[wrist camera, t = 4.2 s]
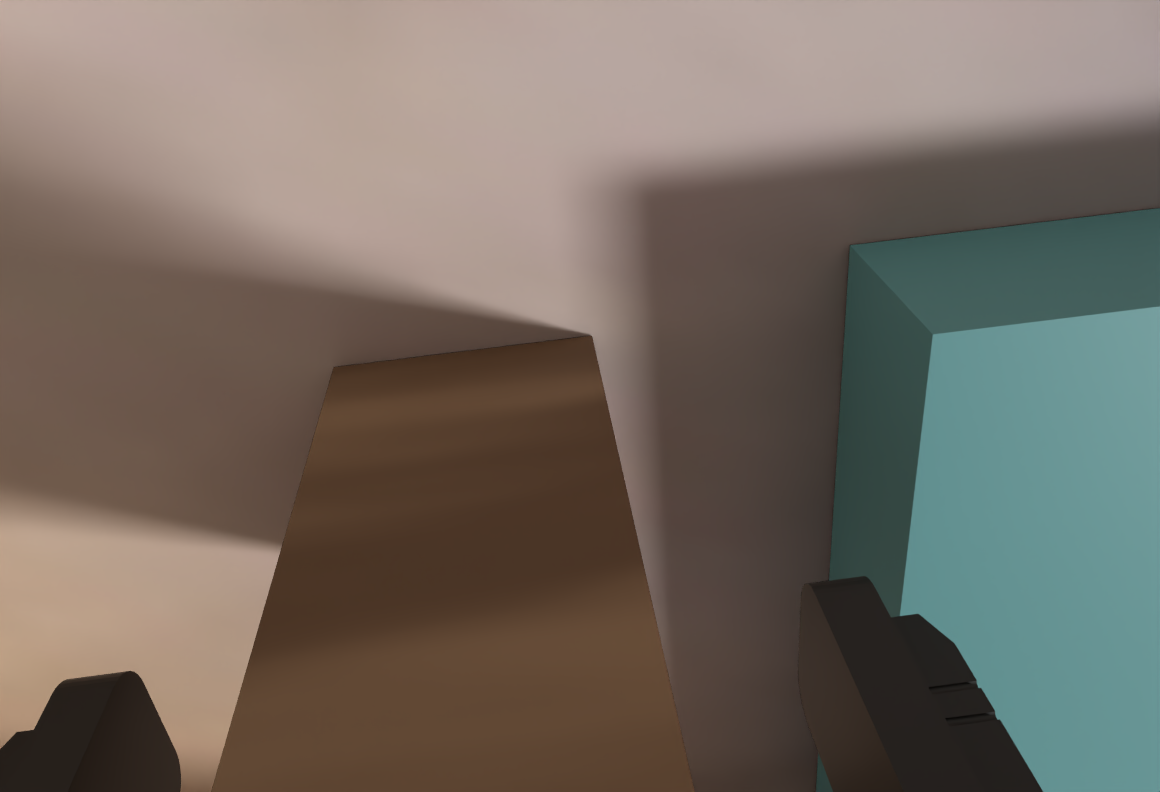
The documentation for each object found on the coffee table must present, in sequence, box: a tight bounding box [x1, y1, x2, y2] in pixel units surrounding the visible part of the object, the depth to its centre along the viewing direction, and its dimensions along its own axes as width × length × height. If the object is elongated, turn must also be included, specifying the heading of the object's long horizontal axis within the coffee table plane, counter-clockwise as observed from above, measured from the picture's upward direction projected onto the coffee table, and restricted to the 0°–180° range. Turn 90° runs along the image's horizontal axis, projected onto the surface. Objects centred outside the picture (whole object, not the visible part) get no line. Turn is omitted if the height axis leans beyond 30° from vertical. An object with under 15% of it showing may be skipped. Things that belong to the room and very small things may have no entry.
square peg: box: [211, 336, 695, 792], centre depth 10 cm, size 4×4×12 cm
